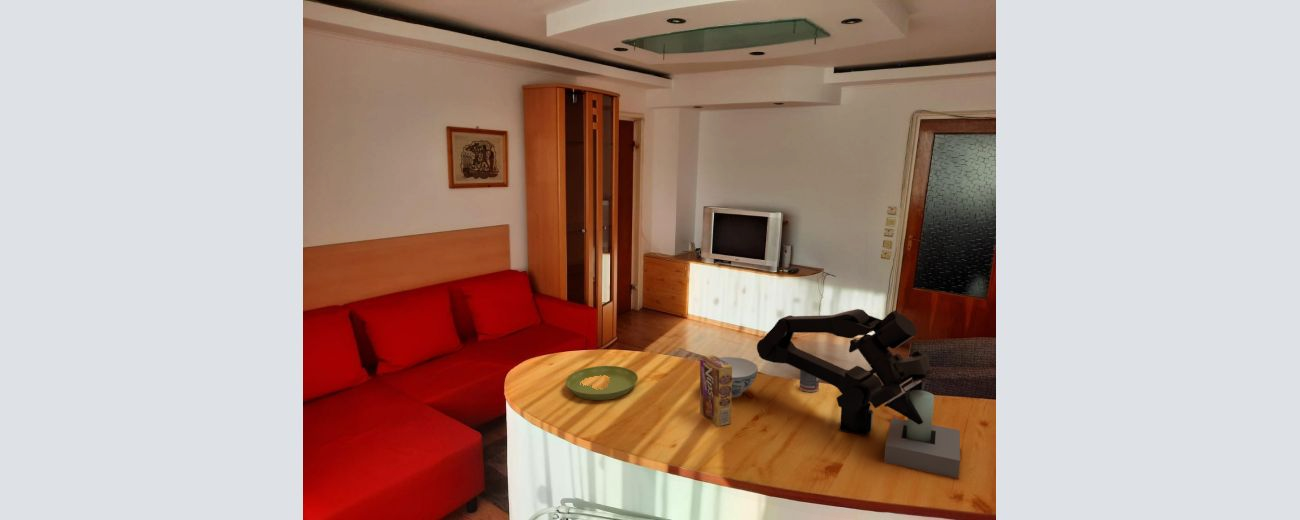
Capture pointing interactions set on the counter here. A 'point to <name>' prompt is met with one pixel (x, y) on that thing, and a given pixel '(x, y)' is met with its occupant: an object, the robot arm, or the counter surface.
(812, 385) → the pill bottle
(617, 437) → the counter surface
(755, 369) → the chinaware
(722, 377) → the candy box
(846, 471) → the counter surface
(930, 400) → the teal peg
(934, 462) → the socket block
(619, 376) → the saucer
